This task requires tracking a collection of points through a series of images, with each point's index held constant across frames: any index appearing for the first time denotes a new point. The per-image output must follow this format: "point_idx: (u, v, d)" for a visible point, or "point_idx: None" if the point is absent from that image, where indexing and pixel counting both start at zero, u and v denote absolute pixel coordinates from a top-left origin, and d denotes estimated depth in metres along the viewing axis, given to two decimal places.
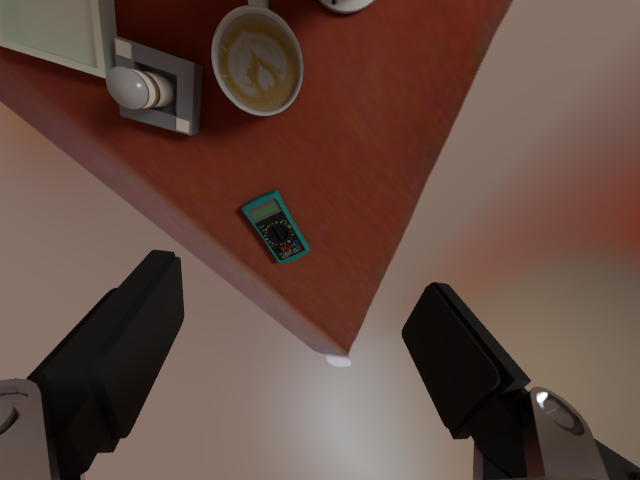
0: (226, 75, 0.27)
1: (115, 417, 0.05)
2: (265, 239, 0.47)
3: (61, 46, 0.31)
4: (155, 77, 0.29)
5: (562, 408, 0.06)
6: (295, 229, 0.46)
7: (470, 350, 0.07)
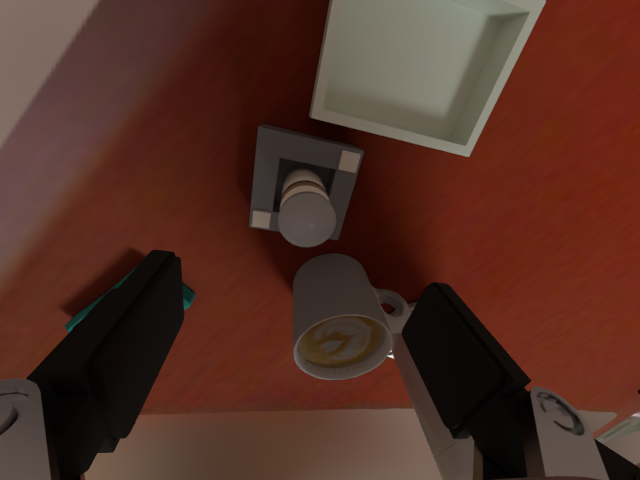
0: None
1: (115, 417, 0.05)
2: None
3: (346, 37, 0.19)
4: None
5: (562, 408, 0.06)
6: None
7: (470, 350, 0.07)
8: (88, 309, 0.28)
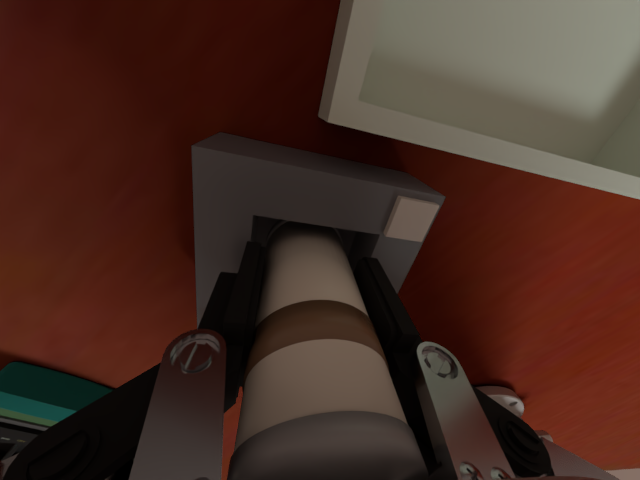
0: None
1: None
2: None
3: None
4: None
5: (438, 352, 0.07)
6: None
7: (377, 312, 0.08)
8: None
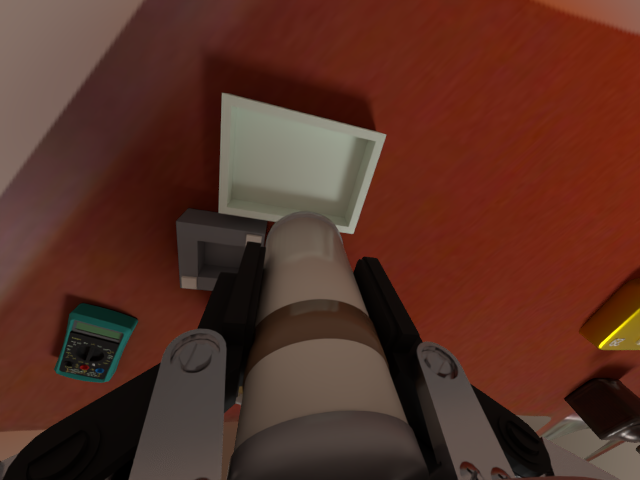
0: None
1: None
2: (65, 348, 0.34)
3: (244, 152, 0.25)
4: None
5: (439, 352, 0.07)
6: (114, 361, 0.36)
7: (377, 313, 0.08)
8: (60, 353, 0.34)
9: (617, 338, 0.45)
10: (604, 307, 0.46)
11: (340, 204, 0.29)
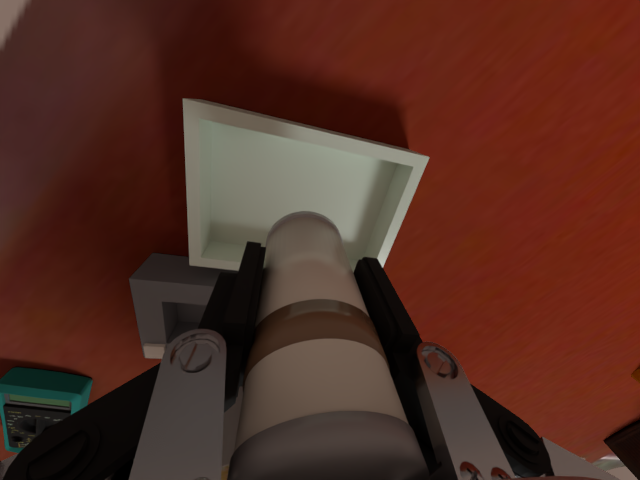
0: None
1: None
2: (6, 423, 0.27)
3: (225, 180, 0.18)
4: None
5: (439, 352, 0.07)
6: None
7: (377, 312, 0.08)
8: None
9: None
10: None
11: (357, 244, 0.22)
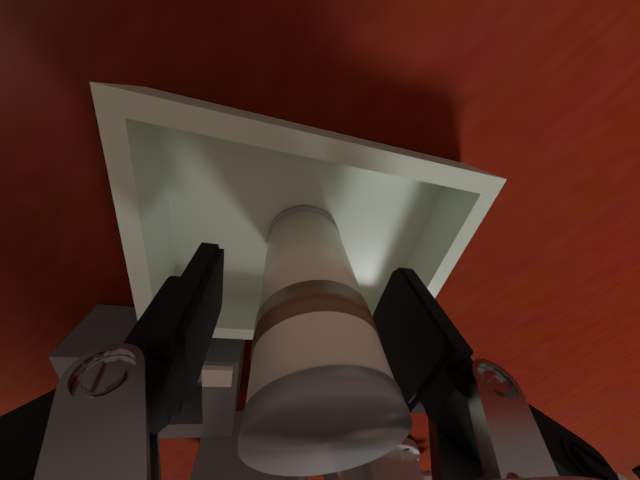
0: None
1: (187, 382, 0.06)
2: None
3: (191, 210, 0.12)
4: None
5: (497, 373, 0.07)
6: None
7: (423, 327, 0.07)
8: None
9: None
10: None
11: (379, 289, 0.16)
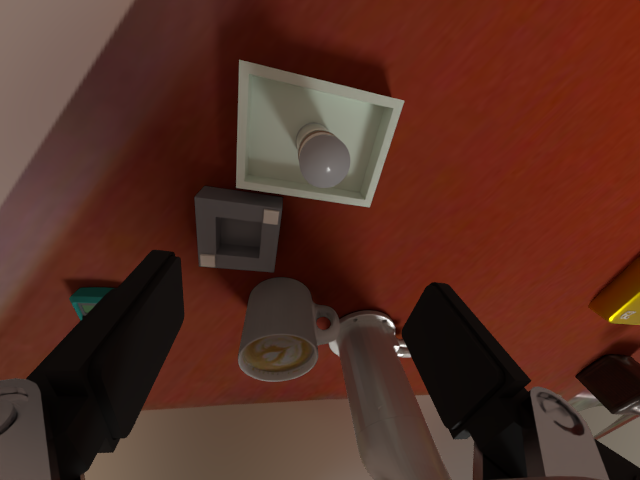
0: None
1: (115, 416, 0.05)
2: None
3: (260, 125, 0.24)
4: None
5: (562, 408, 0.06)
6: None
7: (470, 350, 0.07)
8: None
9: (628, 310, 0.45)
10: (617, 280, 0.45)
11: (355, 178, 0.29)
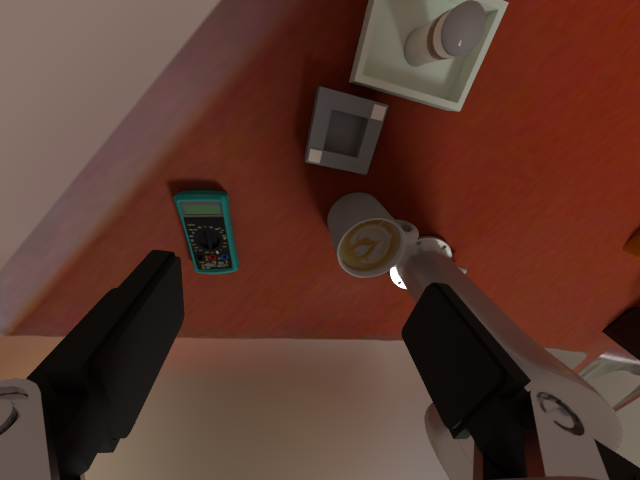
0: (364, 223, 0.32)
1: (115, 417, 0.05)
2: (189, 240, 0.38)
3: (378, 26, 0.29)
4: None
5: (562, 408, 0.06)
6: (230, 242, 0.39)
7: (470, 350, 0.07)
8: (189, 249, 0.39)
9: None
10: None
11: (446, 87, 0.33)
